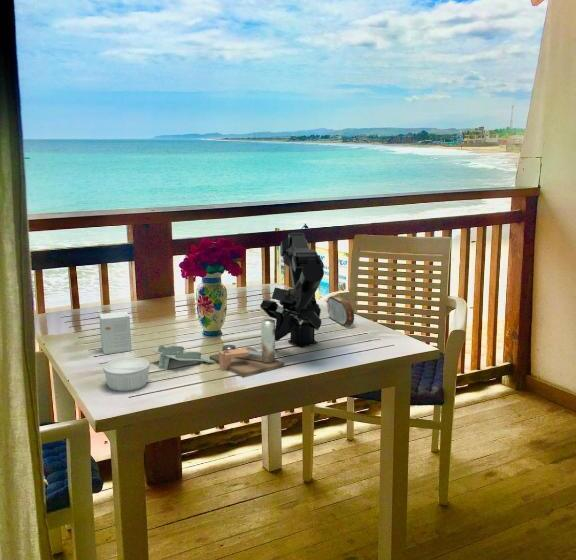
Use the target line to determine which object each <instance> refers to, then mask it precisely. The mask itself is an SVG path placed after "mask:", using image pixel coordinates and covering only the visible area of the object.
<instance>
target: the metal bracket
mask: <svg viewBox="0 0 576 560" xmlns="http://www.w3.org/2000/svg"><path fill="white" fill-rule="evenodd" d="M151 352H153V353H156V354H159V356H160V357H159V362H158V365H157V367H158V368H160V369H163V370H166V371H168V368H169V362H170V359H172V360H173V359H174V360H176V361H191V362H193V361H195V362H206V363H208V364H212V363H213V364H214V363H215V364H217V363H216V361H213V360H210V358H208V357H207V358H206V357H204V356H202V352H199V351H187V350H186V351H185V347H184V346H180V345H179V346H178V345H171V346H170V345H169V346H166V347H165V346H164V345H159V346H158V349H157V350H155V349H154V350H153V349H152V350H151Z"/></svg>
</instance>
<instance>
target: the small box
mask: <svg viewBox="0 0 576 560" xmlns="http://www.w3.org/2000/svg"><path fill="white" fill-rule="evenodd" d="M98 317H99V331H100V343H101V344H100V346H101V350H102V354H103V355H107V354H108V355H109V354H116V353H117V354H118V353H124V352H126V353H127V352H132V336H131V335H132V334H131V318H130V315H129V313H128V311H118V312H107V313H99V315H98Z"/></svg>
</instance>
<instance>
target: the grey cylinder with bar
mask: <svg viewBox="0 0 576 560" xmlns="http://www.w3.org/2000/svg"><path fill="white" fill-rule="evenodd" d="M260 323H261V325H260V327H261V328H260V329H261V332H260V333H261V335H260V336H261V338H260V339H261V346H260V347H261V351H259V352H257V351H258V350H257V351H250V350H247V351H248V352H249V356H244V357H238V358H245V359H251V360H257V361H262V362H265V363H271V362H274V361H275V359H276V341H275V327H276V319H273V318H270V319H269V318H267V319H261V322H260ZM221 349H222V350H221V351H224V350H233V349H238V348H236V345H234V344H225V345H223V346H222V347H221Z"/></svg>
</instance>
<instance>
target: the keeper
mask: <svg viewBox="0 0 576 560" xmlns="http://www.w3.org/2000/svg"><path fill="white" fill-rule="evenodd" d="M218 354H219V364H220V365H219V364H218V365H219V368H220V369H221V370H222V371H223V370H229V369H228V365H231V358H235V357H244V356H249V352H248V351H247V350H246V347H243V349H242V348H237V349H233V350H224V351H223V350H219V351H218Z"/></svg>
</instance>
